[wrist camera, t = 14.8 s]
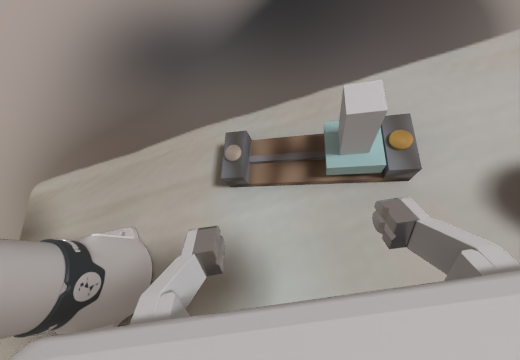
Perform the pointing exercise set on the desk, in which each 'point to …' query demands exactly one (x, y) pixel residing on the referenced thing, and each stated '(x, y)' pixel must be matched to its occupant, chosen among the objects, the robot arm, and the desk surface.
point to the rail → (314, 158)
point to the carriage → (357, 131)
